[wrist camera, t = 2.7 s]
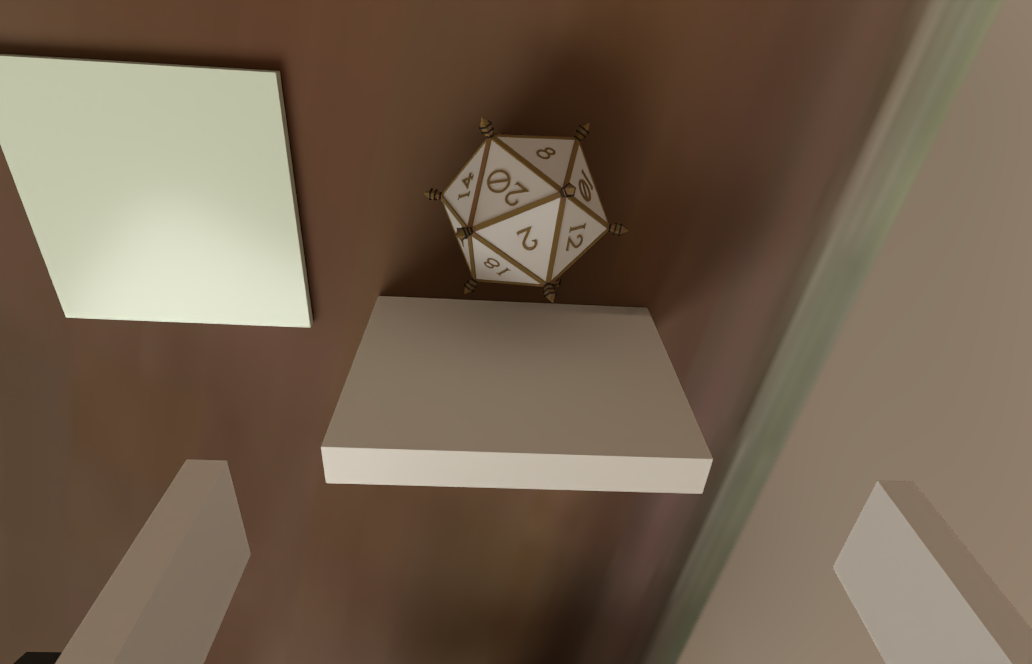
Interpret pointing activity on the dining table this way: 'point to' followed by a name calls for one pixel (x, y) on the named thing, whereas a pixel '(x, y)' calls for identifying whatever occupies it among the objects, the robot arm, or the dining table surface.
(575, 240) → the game die
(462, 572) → the dining table surface
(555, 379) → the screen
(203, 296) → the tile
